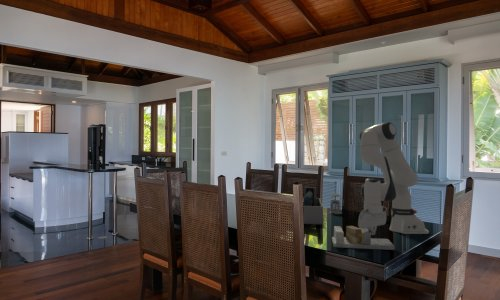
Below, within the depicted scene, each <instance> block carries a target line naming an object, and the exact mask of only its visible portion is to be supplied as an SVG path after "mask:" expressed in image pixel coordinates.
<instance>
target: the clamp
mask: <svg viewBox="0 0 500 300" xmlns="http://www.w3.org/2000/svg"><path fill="white" fill-rule="evenodd" d="M303 189H304V193H303V194H304V195H303V196H304V197H303V198H304V206H316V198H317V187H316V186H315V187H314V186H313V187H312V186H304V188H303Z"/></svg>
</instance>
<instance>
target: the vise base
mask: <svg viewBox="0 0 500 300" xmlns="http://www.w3.org/2000/svg"><path fill="white" fill-rule="evenodd" d="M331 241H332V246H333V247H334V248H344V249H367V250H368V249H369V250H386V251H387V250H388V251H389V250H391V251H395V245H394V244H393V243H392V242H391V240H390V239H388V238H377V237H376V238H373V237H371V244H363V243H362V241H361V242H358V243H354V242H352V241H349V240H347V239H346V236H345V233H344V231H343V228H342V227H341V226H340V225H338V226H337V225H333V236H332V237H331Z"/></svg>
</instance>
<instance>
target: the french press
mask: <svg viewBox="0 0 500 300" xmlns="http://www.w3.org/2000/svg"><path fill="white" fill-rule="evenodd" d="M337 182H338V181H334V182H333V183H335V184H334V185H335V190H334V191H335V193H331V194H330V195H329V196H330V197H335V199H331V200H330V210H329V212H328V213H329V214H332V213H334V215H340V214H342V212H341V208H342V207H343V206H344V204H345V200H344V199H342V197H341V194H339V193H337V191H336V186H337ZM336 197H337V198H338V197H339V198H338V200H337V199H336ZM341 200H342V201H341ZM341 203H342V204H341Z"/></svg>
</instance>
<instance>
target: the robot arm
mask: <svg viewBox="0 0 500 300" xmlns="http://www.w3.org/2000/svg"><path fill="white" fill-rule="evenodd" d="M396 135H397V128H396V126H395V125H394V124H393V123H392V122H390V121H385V122H384V121H383V122H382V123H377V124H374V125H372V126H370V127H367V128H364V129H363V130H361V131H360V133H359V140H360V143H359V144H360V145H359V153H360V158H361V160H363V162H365V163H366V164H368V165H371V166H374V167H377V168H378V169H380V170H381V172H382V177H383V182H384V183H383V182H382V183H381V179H379V178H377V177H376V178H375V177H367V178H365V181H364V183H363V184H362V185H361V186H360V197H361V198H362V199H363V210H361V211H360V212H359V214H358V215H359V216H358V221H357V226H358V228H363V229H365V228H367V229H368V230H369V231H370V232H371V236H374V235H376V231H377V228H378V227H379V226H383V225H386V223H387V211H388V209H387V208H388V207H386V206H384V205H383V206H381V201H383V202H387V203H391V202H392V203H391V205H392V206H391V210H390V212H391V213H390V215H391V221H390V225H389V231H391V232H393V233H401V234H405V235H423V234H425V235H427V234H428V235H429V233H430V231H429V230H428V229H427V228H426V226H425V223H424V221H423V220H421V219H420V217H418V216H417V215H415V214H418V211H417V210H416V209H414V208H412V194H411V193H410V191H409V188H411V187H414V186H415V185H417V183H418V181H419V177H418V175H417V173H416V172H415V171H414V170H413V168H412V167H411V166H410V163H409V162H408V161H407V159H406V158H405V156H404V154H403V151H402V149H401V147H400V144H399V141H398V139H397V137H396Z"/></svg>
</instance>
